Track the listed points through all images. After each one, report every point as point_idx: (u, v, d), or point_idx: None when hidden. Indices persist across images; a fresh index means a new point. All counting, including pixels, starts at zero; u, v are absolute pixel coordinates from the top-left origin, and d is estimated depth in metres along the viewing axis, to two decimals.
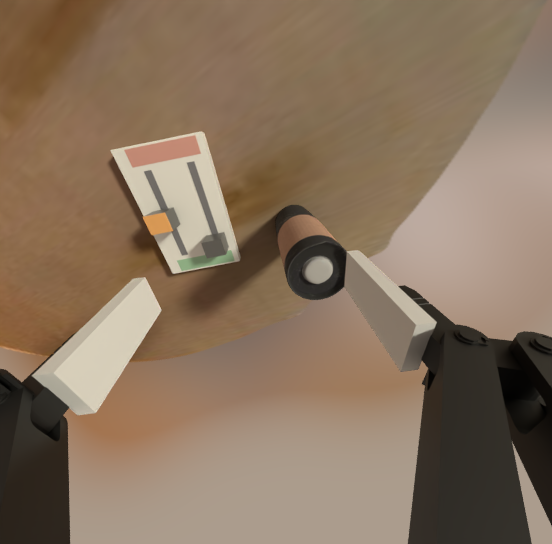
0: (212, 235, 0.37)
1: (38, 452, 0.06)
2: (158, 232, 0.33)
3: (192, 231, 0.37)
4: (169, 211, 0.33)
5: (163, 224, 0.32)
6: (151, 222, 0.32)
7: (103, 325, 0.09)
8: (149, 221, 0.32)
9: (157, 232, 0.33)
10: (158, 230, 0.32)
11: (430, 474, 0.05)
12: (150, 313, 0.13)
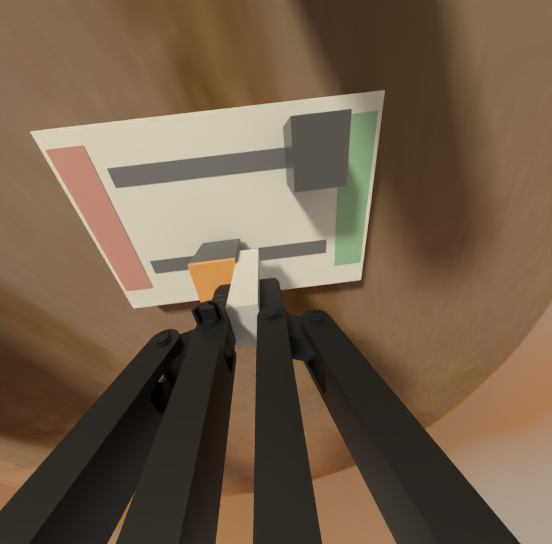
0: (286, 165, 0.14)
1: (222, 380, 0.07)
2: None
3: (273, 215, 0.16)
4: (198, 253, 0.14)
5: (217, 275, 0.13)
6: None
7: None
8: None
9: None
10: None
11: None
12: None
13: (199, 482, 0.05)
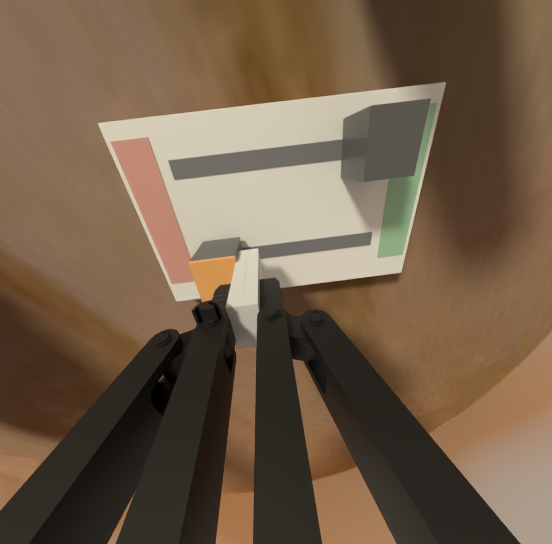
0: (345, 156, 0.14)
1: (222, 380, 0.07)
2: None
3: (323, 208, 0.16)
4: (199, 251, 0.14)
5: (217, 272, 0.13)
6: None
7: None
8: (212, 296, 0.14)
9: None
10: None
11: None
12: None
13: (200, 482, 0.05)
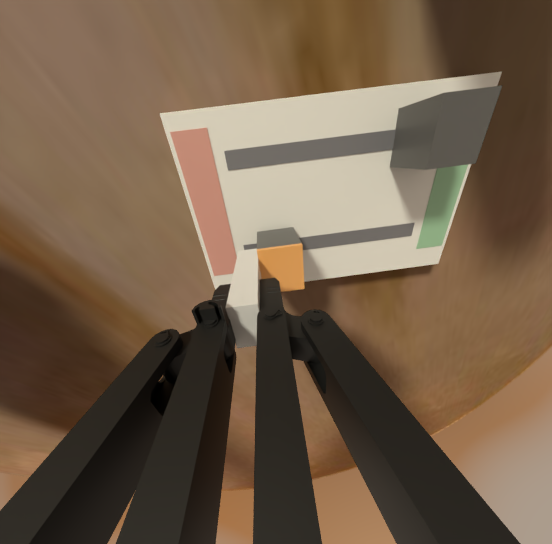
0: (398, 146, 0.14)
1: (222, 380, 0.07)
2: (300, 274, 0.14)
3: (370, 198, 0.16)
4: (260, 240, 0.15)
5: (283, 260, 0.14)
6: None
7: None
8: None
9: (300, 276, 0.14)
10: (296, 273, 0.14)
11: None
12: None
13: (199, 482, 0.05)
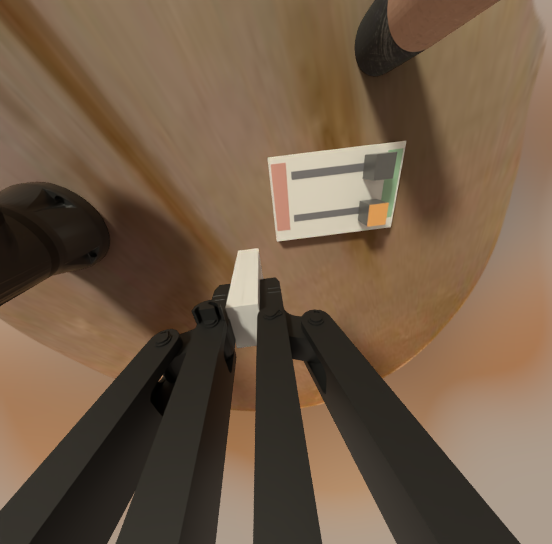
0: (365, 170, 0.33)
1: (222, 380, 0.07)
2: (385, 217, 0.33)
3: (354, 192, 0.35)
4: (366, 202, 0.34)
5: (379, 209, 0.32)
6: (374, 220, 0.33)
7: None
8: (373, 221, 0.33)
9: (385, 218, 0.33)
10: (383, 216, 0.33)
11: None
12: None
13: (199, 482, 0.05)
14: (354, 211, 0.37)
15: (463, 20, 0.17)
